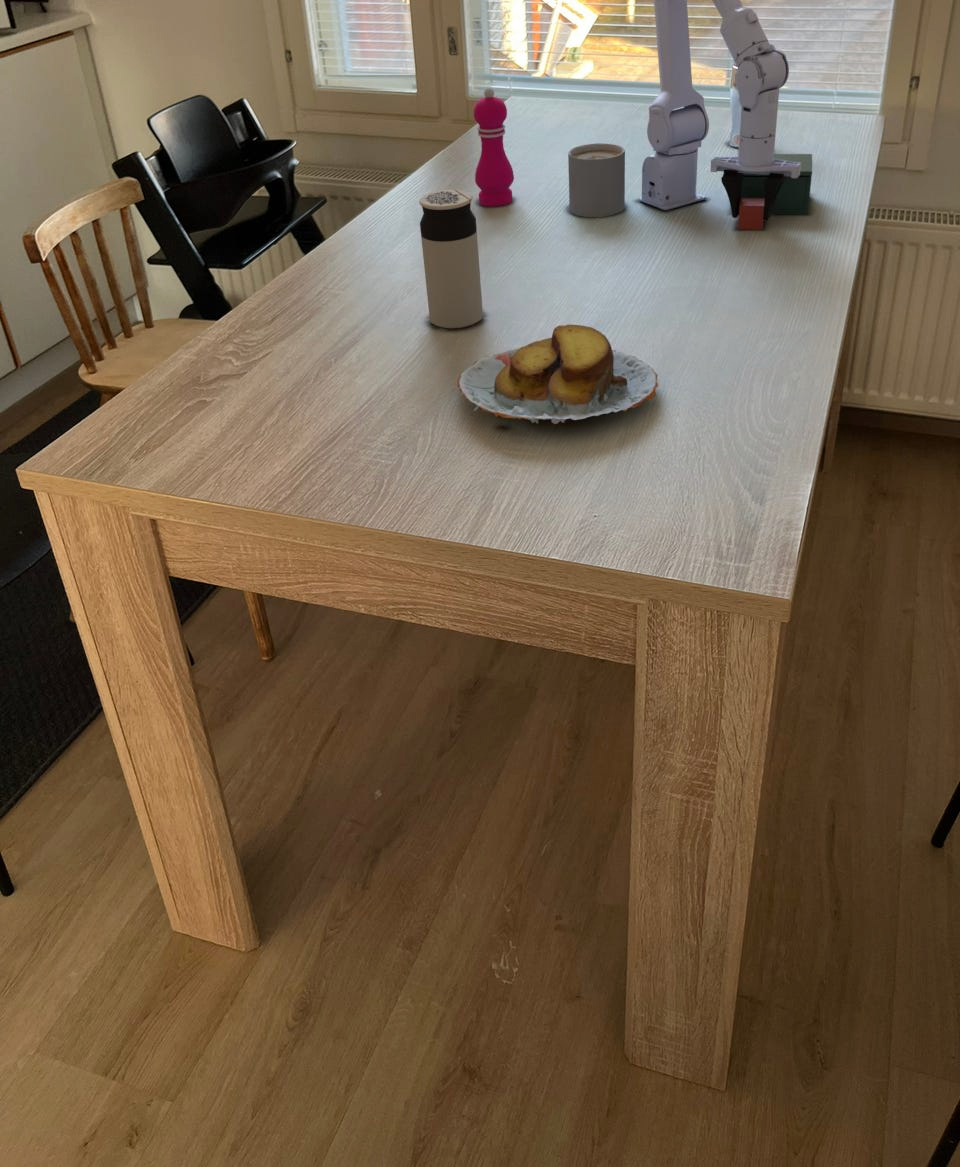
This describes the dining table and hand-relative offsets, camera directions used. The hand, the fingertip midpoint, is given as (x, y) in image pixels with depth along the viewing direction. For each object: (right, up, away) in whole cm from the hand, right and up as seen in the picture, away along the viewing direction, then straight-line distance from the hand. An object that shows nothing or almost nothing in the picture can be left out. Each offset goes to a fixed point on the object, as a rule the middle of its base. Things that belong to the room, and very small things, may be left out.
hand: (751, 217), depth 190 cm
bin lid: (+5, +10, +5) cm, 12 cm away
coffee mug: (-24, +7, +15) cm, 29 cm away
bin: (+6, +5, +9) cm, 11 cm away
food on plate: (-36, -38, -44) cm, 69 cm away
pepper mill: (-43, +10, +21) cm, 49 cm away
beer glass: (+8, +28, +39) cm, 49 cm away
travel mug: (-49, -23, -22) cm, 59 cm away
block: (0, -1, +1) cm, 1 cm away
